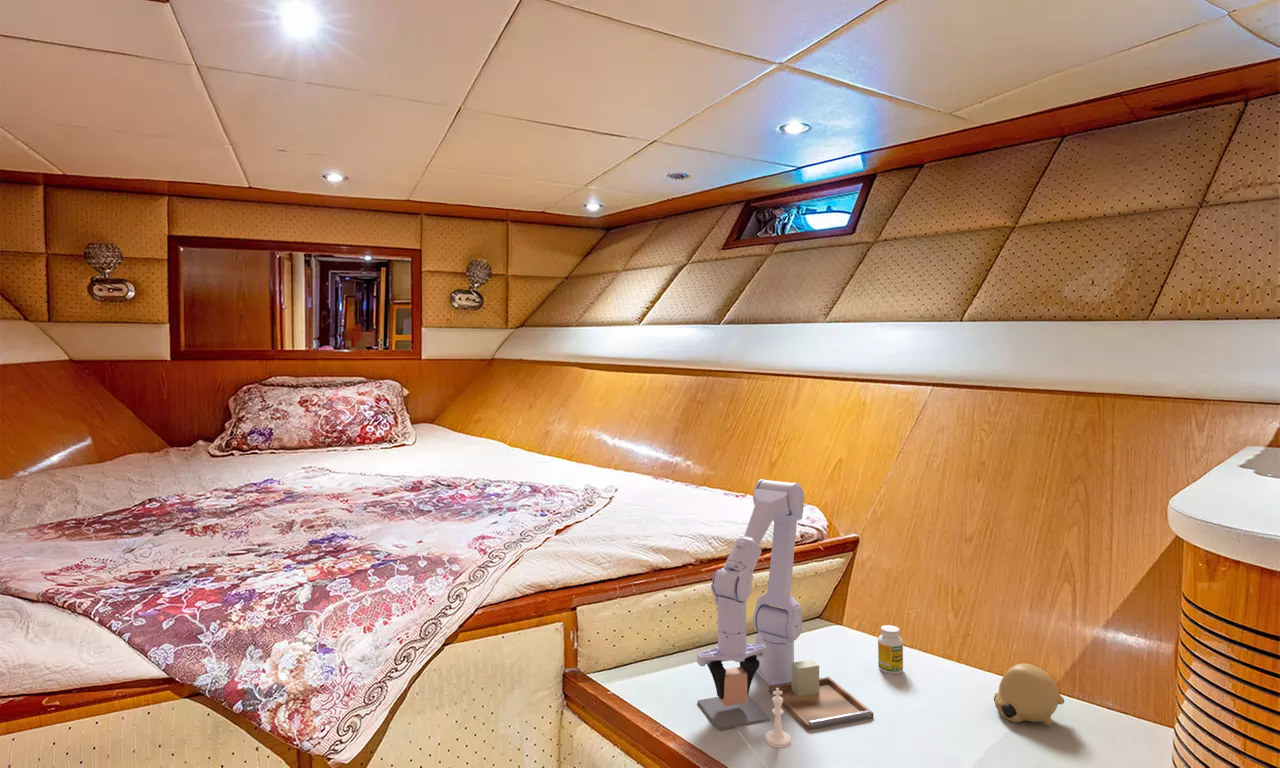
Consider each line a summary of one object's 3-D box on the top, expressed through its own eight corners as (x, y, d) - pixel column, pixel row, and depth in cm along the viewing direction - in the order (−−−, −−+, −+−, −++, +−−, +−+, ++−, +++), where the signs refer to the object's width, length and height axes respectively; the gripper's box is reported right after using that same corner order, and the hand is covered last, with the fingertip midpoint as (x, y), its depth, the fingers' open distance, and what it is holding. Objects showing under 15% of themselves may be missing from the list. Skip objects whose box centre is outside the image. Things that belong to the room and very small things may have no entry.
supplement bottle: (887, 662, 158) (887, 621, 157) (908, 670, 153) (908, 629, 153) (873, 668, 155) (872, 627, 154) (893, 677, 150) (893, 634, 150)
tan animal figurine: (1018, 723, 137) (975, 684, 139) (1062, 684, 135) (1018, 645, 137) (1033, 749, 127) (987, 706, 130) (1080, 707, 125) (1033, 664, 127)
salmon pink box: (718, 699, 137) (718, 670, 137) (741, 695, 138) (740, 666, 138) (724, 706, 134) (724, 676, 134) (747, 702, 135) (747, 673, 135)
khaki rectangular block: (791, 690, 144) (791, 662, 144) (811, 686, 146) (811, 659, 146) (798, 696, 142) (798, 668, 141) (819, 693, 143) (819, 665, 143)
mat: (697, 703, 140) (697, 700, 140) (745, 694, 143) (745, 692, 143) (718, 730, 129) (718, 727, 129) (769, 721, 133) (769, 718, 132)
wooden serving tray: (769, 692, 144) (768, 685, 144) (828, 682, 148) (828, 675, 148) (807, 731, 129) (807, 723, 129) (873, 718, 133) (873, 710, 133)
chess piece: (761, 734, 128) (761, 682, 128) (786, 732, 128) (786, 681, 128) (768, 749, 123) (768, 695, 123) (794, 747, 123) (794, 694, 123)
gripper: (705, 641, 130) (706, 710, 130) (773, 631, 134) (774, 698, 134) (692, 627, 137) (693, 693, 137) (757, 618, 141) (758, 682, 141)
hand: (732, 694), depth 136 cm, fingers closed on salmon pink box, 5 cm apart
